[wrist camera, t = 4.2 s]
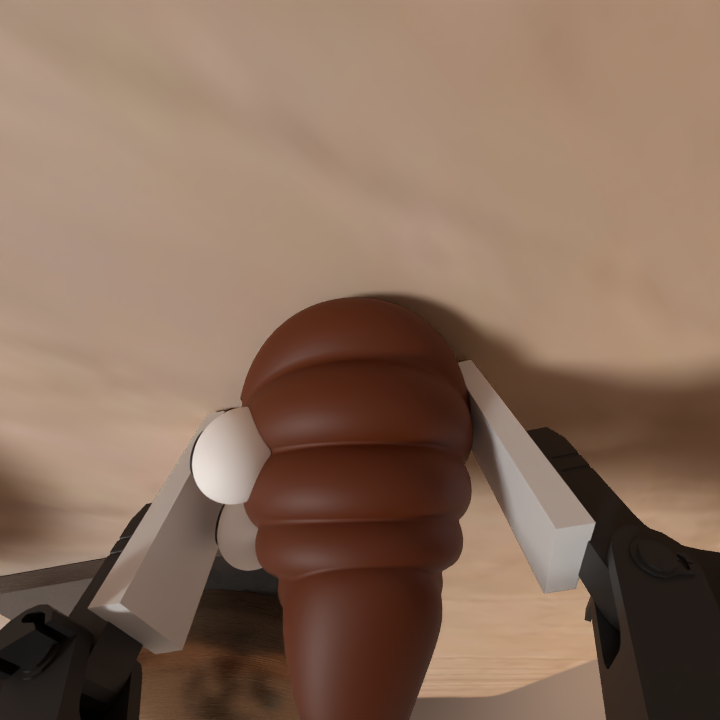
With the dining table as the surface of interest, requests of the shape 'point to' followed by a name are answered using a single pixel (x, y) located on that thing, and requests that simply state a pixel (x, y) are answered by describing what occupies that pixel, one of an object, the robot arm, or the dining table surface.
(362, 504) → the poop emoji
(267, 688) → the post stand
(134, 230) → the dining table surface
